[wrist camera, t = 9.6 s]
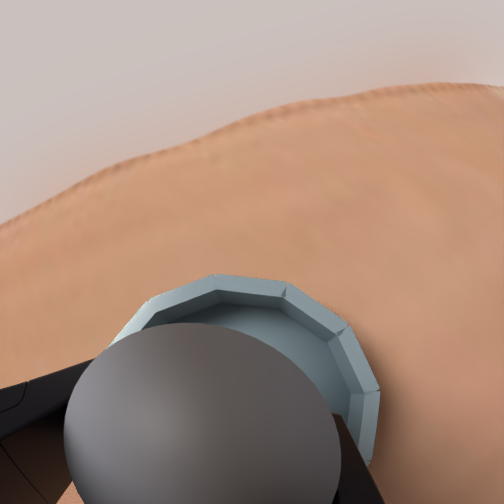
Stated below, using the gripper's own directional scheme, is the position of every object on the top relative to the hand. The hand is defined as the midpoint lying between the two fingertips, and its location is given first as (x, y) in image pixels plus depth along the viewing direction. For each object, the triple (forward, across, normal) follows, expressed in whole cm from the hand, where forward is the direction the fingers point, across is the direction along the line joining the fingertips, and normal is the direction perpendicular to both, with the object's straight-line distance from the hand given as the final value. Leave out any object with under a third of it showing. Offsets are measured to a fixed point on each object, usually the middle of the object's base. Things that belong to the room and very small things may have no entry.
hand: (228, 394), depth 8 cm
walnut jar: (+4, 0, +6) cm, 7 cm away
